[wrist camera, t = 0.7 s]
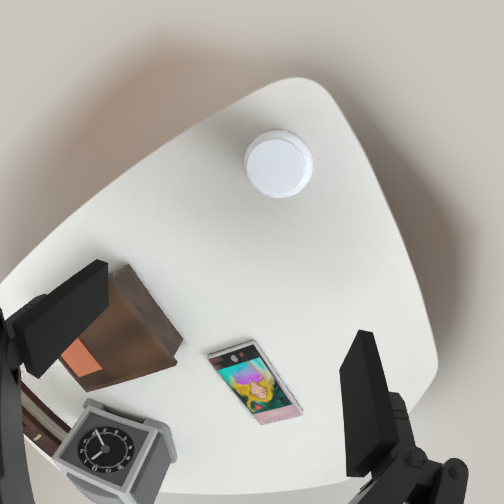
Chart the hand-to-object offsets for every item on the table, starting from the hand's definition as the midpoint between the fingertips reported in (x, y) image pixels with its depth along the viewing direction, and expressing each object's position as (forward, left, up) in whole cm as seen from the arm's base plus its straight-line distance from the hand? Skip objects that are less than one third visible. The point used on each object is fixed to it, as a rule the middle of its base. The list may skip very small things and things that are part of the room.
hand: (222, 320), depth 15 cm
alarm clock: (+23, -44, -18) cm, 53 cm away
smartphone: (+19, -12, -18) cm, 29 cm away
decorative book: (+12, -78, -18) cm, 81 cm away
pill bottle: (-5, +5, -18) cm, 20 cm away
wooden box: (+2, -27, -18) cm, 33 cm away
